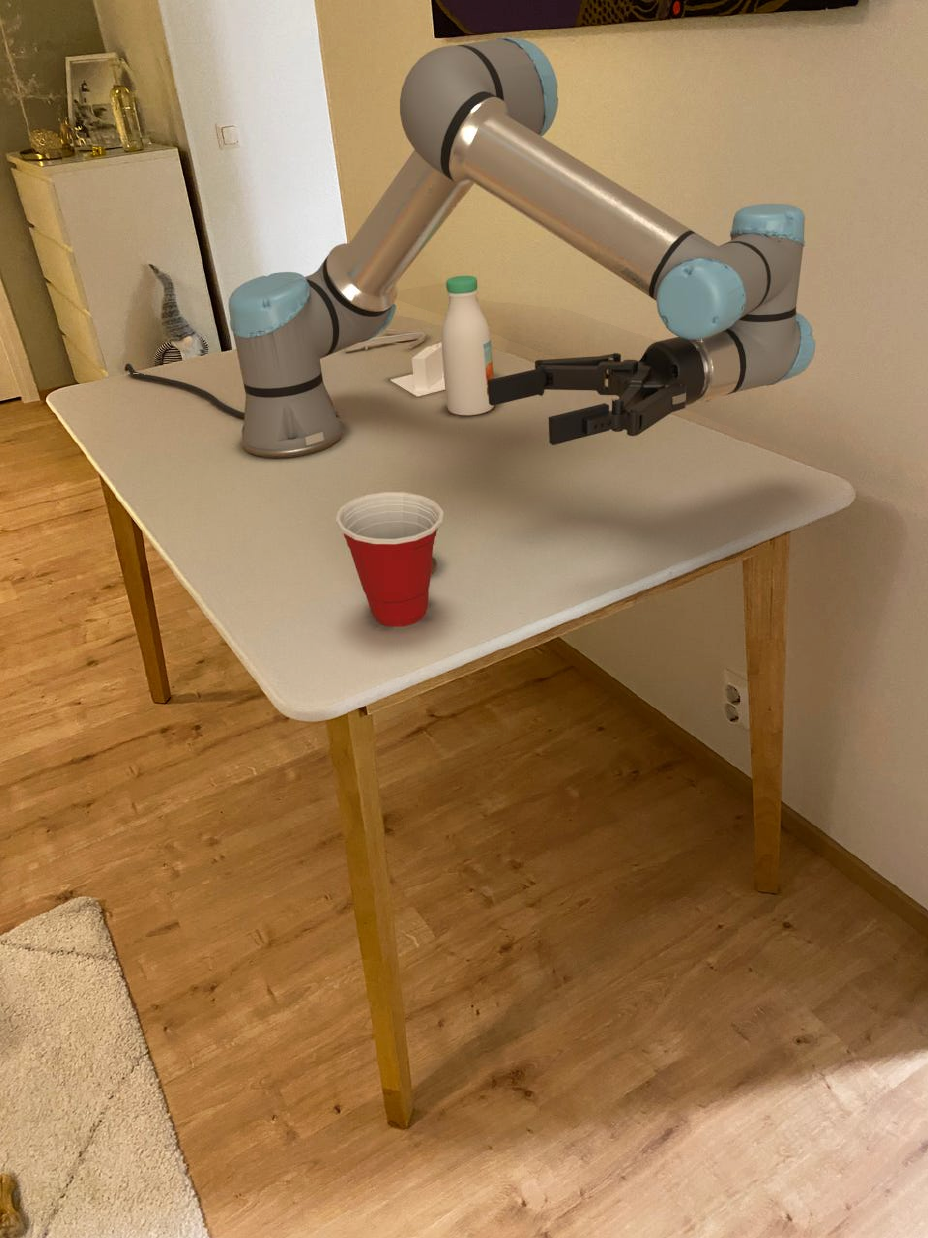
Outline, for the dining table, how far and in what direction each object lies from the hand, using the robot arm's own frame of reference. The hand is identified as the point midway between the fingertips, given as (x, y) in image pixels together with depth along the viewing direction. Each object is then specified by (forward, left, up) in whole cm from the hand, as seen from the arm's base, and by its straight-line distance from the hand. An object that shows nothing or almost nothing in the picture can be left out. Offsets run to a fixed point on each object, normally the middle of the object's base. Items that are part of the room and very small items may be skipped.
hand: (518, 411), depth 102 cm
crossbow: (-69, +61, -18) cm, 94 cm away
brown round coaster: (-11, -7, -18) cm, 22 cm away
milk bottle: (-34, +39, -18) cm, 55 cm away
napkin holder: (-47, +49, -18) cm, 70 cm away
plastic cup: (-6, -15, -18) cm, 25 cm away
